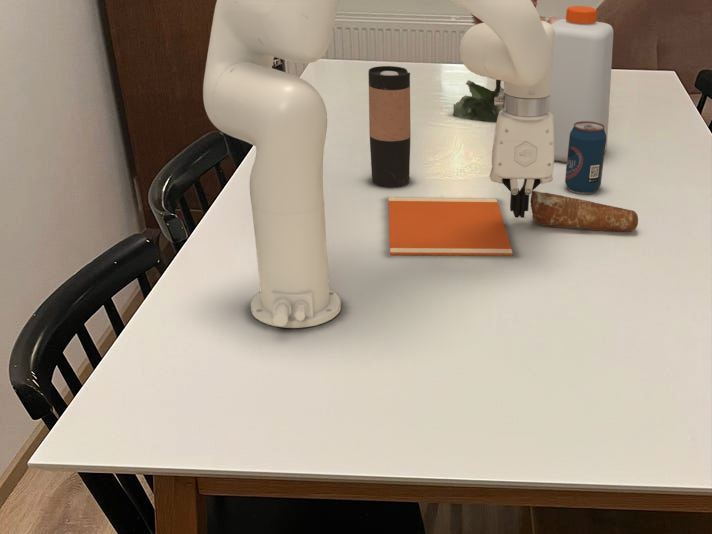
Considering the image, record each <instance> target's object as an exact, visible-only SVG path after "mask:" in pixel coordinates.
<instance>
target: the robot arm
mask: <svg viewBox="0 0 712 534" xmlns="http://www.w3.org/2000/svg"><path fill="white" fill-rule="evenodd" d="M449 1H450V2H451V3H452V4H454V5H456V6H457V7H458V8H460V9H462V10H463V11H465V12H466V13H468V14H470V15H471V14H472V15H474V16H475V17H477V18H478V19H480V20H481V21H483V22H484V23H480V24H477V25H475V26H474V25H473V26H471V27H470V28H469V29H468V30H467V31H465V33H464V35H463V36H462V38H461V41H460V45H459V54H460V55H459V56H460V60H461V62H462V64H463V65H464V67H465V68H466V69H467V70H468V71H469V72H470V73H473V74H474V75H477V76H480V77H484V78H487V79H492V80H494V81H496V80H501V82H503V89H504V91H503V94H502V96H499V97H495V99H494V105H495V106H499V107H501V108H503V110H501V111H500V112H499V114H498V118H497V122H495V127H494V128H495V129H494V135H493V141H492V151H491V166H492V167H491V169H490V173H489V179H490V181H491V182H493V183H498V184H502V185H504V187H506V189H507V190H508V191H509V192H510V203H509V210H510V212H512V213H513V215H514V218H515V219H516V218H518V219H519V218H522V219H525V214H526V212H529V206H530V205H529V203H530V196H531V194H532V191H535V190H536V188H538V187H539V186H540V185H543V184H547V183H551V182H552V181H553V177H554V176H553V173H554V169H555V167H554V166H555V160H554V147H555V130H554V118H553V115H552V114H551V113H550V112H549V102H550V90H551V78H552V66H553V54H554V42H555V31H554V28H553V26H552V25H551V24H550V23H548V22H545V21H541V19H540V16H541V15H540V14H539V12H538V10H537V7H536V8H535V6H534V5H533V3H532V1H531V0H449ZM339 2H340V0H216V2H215V6H214V11H213V18H212V24H211V29H210V36H209V43H208V48H207V49H208V50H207V56H206V62H205V69H204V77H203V83H202V86H203V87H202V98H203V99H202V101H203V106H204V110H205V112H206V115H207V117H208V120H209V121H210V122H211V123H212V125H213V126H214V127H215V128H216V129H217V130H219V131H220V132H221V133H223V134H225V135H227V136H230V137H232V138H235V139H238V140H239V141H243V142H246V143H248V144H250V145H252V146H254V147H255V158H254V162H253V164H252V168H251V171H250V176H249V196H250V204H251V212H252V222H253V231H254V240H255V250H256V251H255V252H256V261H257V271H258V280H259V289H260V292H258V293H257V294H256V295H254V296H253V298H252V299H251V301H250V312H251V314H252V316H253V317H254V318H255V319H256V320H258V321H259V322H261V323H263V324H266V325H269V326H272V327H278V328H285V329H303V328H309V327H315V326H319V325H322V324H324V323H328V322H330V321H331V320H333V319H334V318H335V317H337V316H338V315H339V313H340V312H341V309H342V301H341V298H340V296H339V295H338V294H337V293H336V292H335V291H334V290H332V289H330V283H329V265H328V263H329V262H328V247H327V229H326V212H325V197H324V196H325V195H324V153H325V144H326V138H327V130H328V111H327V107H326V104H325V100H324V99H323V97H322V96H321V94H320V93H319V91H318V90H317V89H316V88H315V86H313V85H312V84H311V83H310V82H308V81H307V80H305V79H303V78H301V77H300V76H297V75H296V74H295V75H294V74H292V73H289V72H286V71H283V70H279V69H276V68H273V64H274V59H275V58H276V59H280V60H283V61H288V62H292V63H298V64H313V63H315V62H318V61H319V60H321V59H322V58H323V57H324V56H325V54H326V53H327V51H328V49H329V47H330V45H331V40H332V37H333V32H334V28H335V22H336V17H337V12H338V8H339V7H338V6H339ZM472 15H471V16H472ZM539 15H540V16H539ZM519 179H520V180H523V183H522V186H521V188H519V185H518V183H519V182H518V180H519Z"/></svg>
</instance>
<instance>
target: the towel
mask: <svg viewBox="0 0 712 534" xmlns="http://www.w3.org/2000/svg"><path fill="white" fill-rule="evenodd" d="M388 229H389V230H388V231H389V233H388V234H389V255H390V256H493V257H494V256H495V257H496V256H498V257H499V256H501V257H502V256H503V257H504V256H506V257H509V256H513V255H514V253H513V249H512V246H511V242H510V240H509V236H508V231H507V229H506V226H505V223H504V219H503V216H502V213H501V208H500V205H499V203H498V199H497V198H484V197H483V198H477V197H475V198H474V197H473V198H472V197H401V196H399V197H397V196H396V197H395V196H393V197H392V196H391V197H390V196H388Z"/></svg>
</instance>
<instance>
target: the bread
mask: <svg viewBox="0 0 712 534" xmlns="http://www.w3.org/2000/svg"><path fill="white" fill-rule="evenodd" d="M529 203H530V209H531V213H532V217H531V218H532V221H533V223H537V224H539V225H541V226H545V227H553V228H565V229H579V230H592V231H603V232H604V231H605V232H607V231H610V232H632V231H635V230H636V229H637V228H638V225H639V217H638V213H637V212H636V211H634V210H632V209H627V208H622V207H617V206H613V205H609V204H603V203H600V202H595V201H590V200H586V199H581V198H575V197H570V196H567V195H566V196H565V195H560V194H555V193H550V192H542V191H537V190H533V191H532V193H531V194H530V200H529Z"/></svg>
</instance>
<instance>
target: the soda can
mask: <svg viewBox="0 0 712 534" xmlns="http://www.w3.org/2000/svg"><path fill="white" fill-rule="evenodd" d="M606 137H607V136H606V133H605V130H604V125H602V124H600V123H597V122H590V121H581V122H576V123H575V124H574V127H573V129H572V131H571V132H570V137H569V147H568V157H567V162H566V166H565V167H566V169H565V176H564V177H565V178H564V182H565V185H566V187H567V189H568V191H569V192H571V193H574V194H577V195H578V194H579V195H590V194H594V193H596V192H597V190H599V189H600V187H601V185H602V179H603V169H604V161H605V152H606V150H605V145H606ZM607 138H608V137H607Z"/></svg>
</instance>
